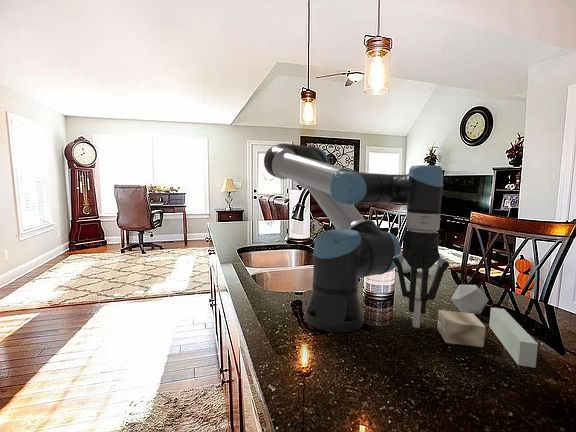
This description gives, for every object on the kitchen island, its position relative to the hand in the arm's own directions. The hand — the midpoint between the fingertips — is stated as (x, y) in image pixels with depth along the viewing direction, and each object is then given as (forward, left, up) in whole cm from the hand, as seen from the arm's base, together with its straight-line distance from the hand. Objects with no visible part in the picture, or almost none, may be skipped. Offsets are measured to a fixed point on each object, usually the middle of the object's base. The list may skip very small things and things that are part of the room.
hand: (415, 325), depth 82 cm
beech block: (+10, 0, -2) cm, 10 cm away
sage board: (+20, 0, -2) cm, 20 cm away
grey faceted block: (+16, +19, -2) cm, 25 cm away
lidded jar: (0, +62, -2) cm, 62 cm away
